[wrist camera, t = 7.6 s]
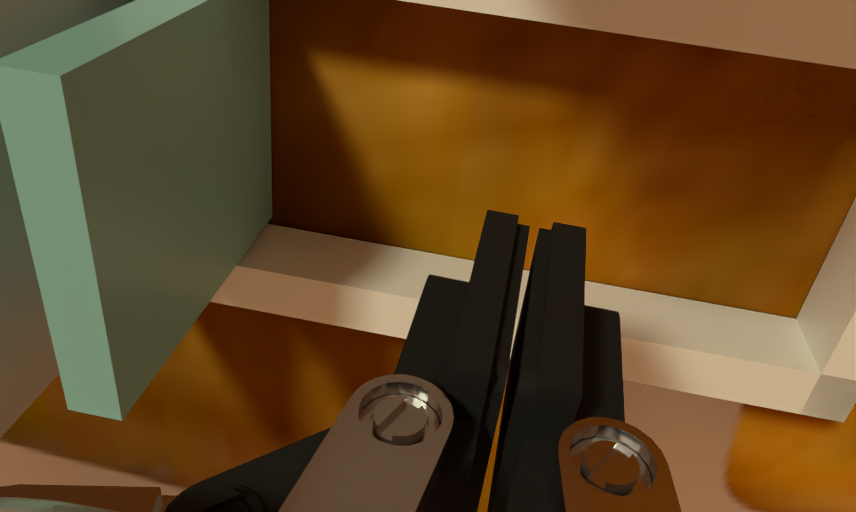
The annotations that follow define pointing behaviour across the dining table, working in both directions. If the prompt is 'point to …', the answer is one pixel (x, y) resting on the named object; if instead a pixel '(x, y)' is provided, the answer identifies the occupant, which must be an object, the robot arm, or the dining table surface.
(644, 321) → the white angular frame
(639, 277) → the dining table surface
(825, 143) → the dining table surface
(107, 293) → the plate
